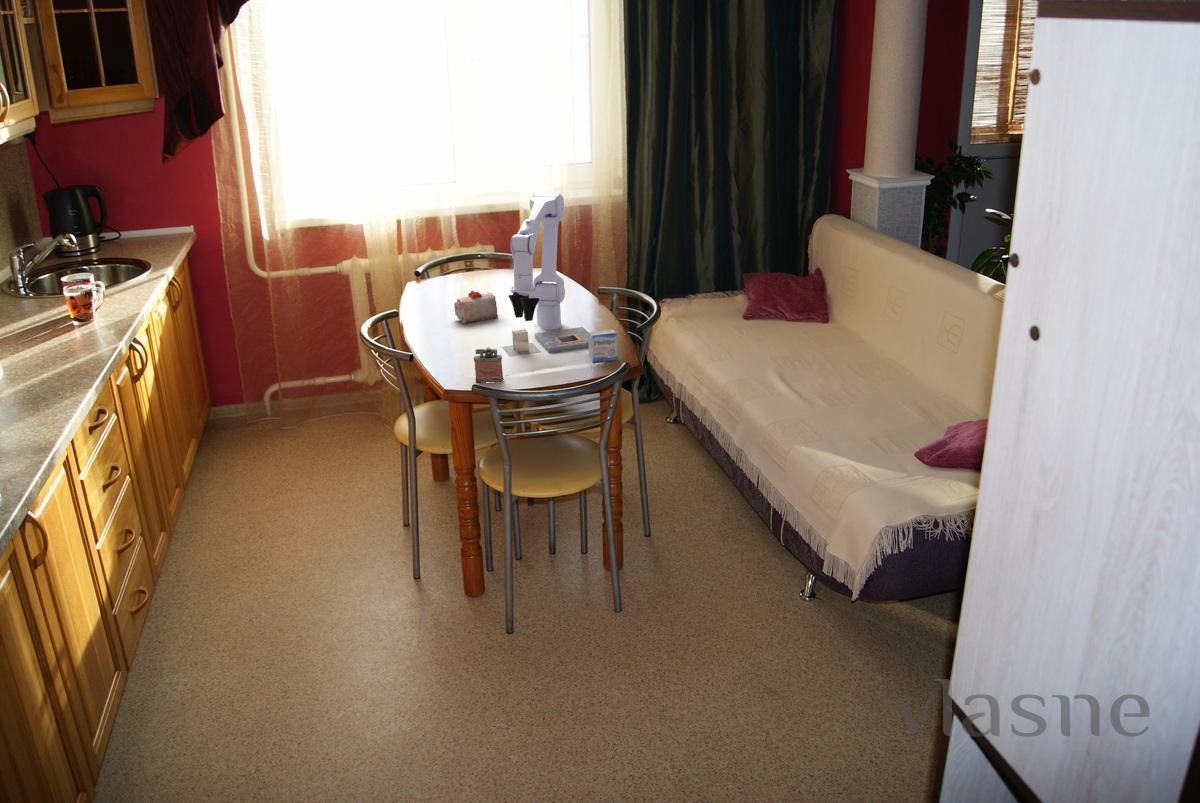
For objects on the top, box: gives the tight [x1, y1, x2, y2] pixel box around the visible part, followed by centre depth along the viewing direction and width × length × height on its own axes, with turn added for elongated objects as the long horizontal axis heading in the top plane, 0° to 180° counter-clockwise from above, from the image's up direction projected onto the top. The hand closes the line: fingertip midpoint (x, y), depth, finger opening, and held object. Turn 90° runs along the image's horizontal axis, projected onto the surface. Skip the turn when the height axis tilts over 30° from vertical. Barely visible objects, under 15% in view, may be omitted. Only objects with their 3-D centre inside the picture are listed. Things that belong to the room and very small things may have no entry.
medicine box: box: [588, 329, 618, 364], centre depth 303 cm, size 8×4×9 cm, turn 105°
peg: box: [511, 328, 530, 352], centre depth 312 cm, size 4×4×6 cm
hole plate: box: [534, 326, 589, 354], centre depth 318 cm, size 16×16×3 cm
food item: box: [453, 290, 499, 324], centre depth 346 cm, size 14×8×10 cm, turn 118°
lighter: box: [473, 347, 505, 385], centre depth 289 cm, size 8×3×10 cm, turn 92°
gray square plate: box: [501, 342, 542, 357], centre depth 313 cm, size 10×10×1 cm
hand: (523, 319), depth 309 cm, fingers open, 7 cm apart
